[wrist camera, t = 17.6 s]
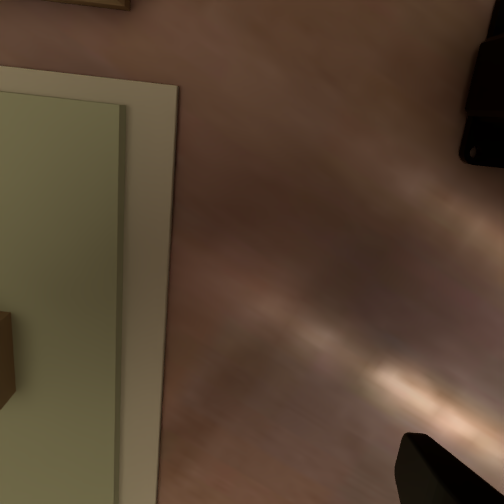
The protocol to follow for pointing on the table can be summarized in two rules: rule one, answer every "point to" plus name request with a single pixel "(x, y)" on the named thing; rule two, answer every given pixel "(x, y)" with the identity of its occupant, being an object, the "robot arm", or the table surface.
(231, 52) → the table surface
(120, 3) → the toolbox
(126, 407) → the mat
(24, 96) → the lid
